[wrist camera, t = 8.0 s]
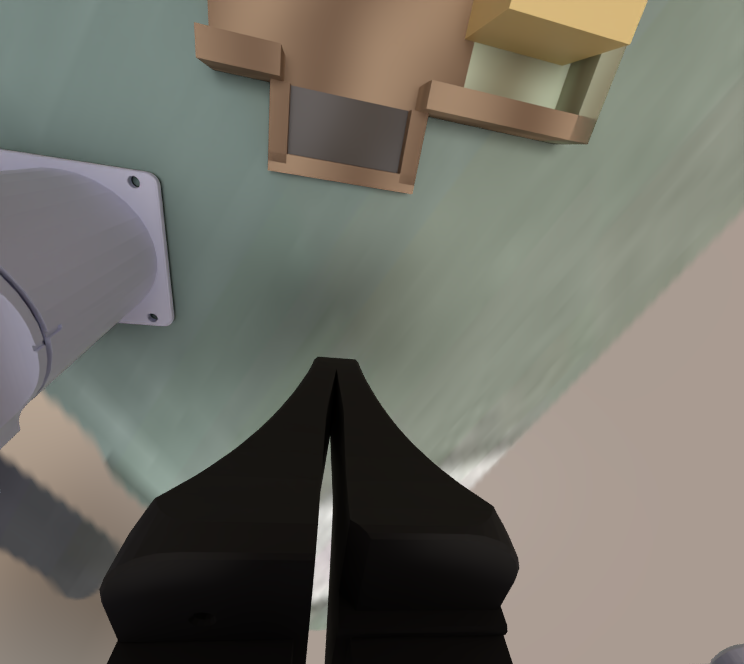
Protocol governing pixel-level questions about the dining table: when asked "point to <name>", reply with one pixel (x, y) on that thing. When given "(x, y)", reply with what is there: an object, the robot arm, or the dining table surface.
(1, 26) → the dining table surface
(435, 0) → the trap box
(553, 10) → the block
